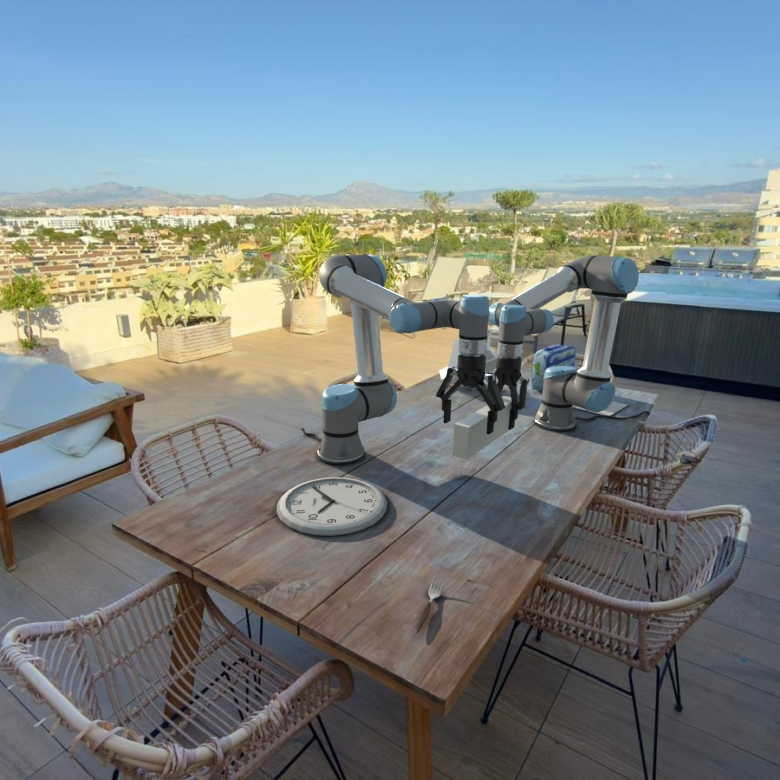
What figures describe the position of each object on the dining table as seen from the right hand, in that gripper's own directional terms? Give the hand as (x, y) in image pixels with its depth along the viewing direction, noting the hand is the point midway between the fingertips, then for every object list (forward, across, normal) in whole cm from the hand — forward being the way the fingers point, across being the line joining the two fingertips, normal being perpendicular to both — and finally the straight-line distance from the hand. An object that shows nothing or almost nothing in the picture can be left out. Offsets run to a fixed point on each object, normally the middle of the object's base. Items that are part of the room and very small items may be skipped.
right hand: (503, 426), depth 168 cm
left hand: (-7, 0, -25) cm, 26 cm away
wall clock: (+12, -24, -55) cm, 61 cm away
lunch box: (+13, -16, +90) cm, 92 cm away
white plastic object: (+13, -41, +63) cm, 76 cm away
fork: (+12, +19, -73) cm, 77 cm away
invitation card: (+13, +10, +78) cm, 80 cm away
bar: (+1, 0, -12) cm, 12 cm away
